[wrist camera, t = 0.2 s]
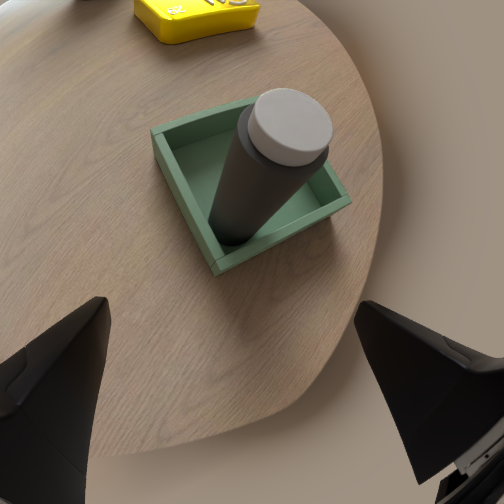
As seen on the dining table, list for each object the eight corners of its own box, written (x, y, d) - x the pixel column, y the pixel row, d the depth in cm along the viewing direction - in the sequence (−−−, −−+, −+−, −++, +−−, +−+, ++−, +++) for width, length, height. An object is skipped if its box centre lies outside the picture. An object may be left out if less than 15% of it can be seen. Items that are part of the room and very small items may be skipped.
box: (330, 216, 26) (352, 202, 22) (214, 277, 22) (220, 271, 18) (267, 115, 27) (279, 91, 23) (153, 154, 23) (149, 128, 19)
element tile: (211, -7, 30) (215, -26, 26) (259, 28, 30) (267, 5, 25) (130, 11, 26) (130, -11, 21) (165, 48, 26) (166, 20, 21)
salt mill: (263, 233, 23) (360, 147, 10) (222, 254, 22) (280, 176, 8) (241, 193, 23) (306, 76, 10) (199, 212, 22) (224, 90, 9)
